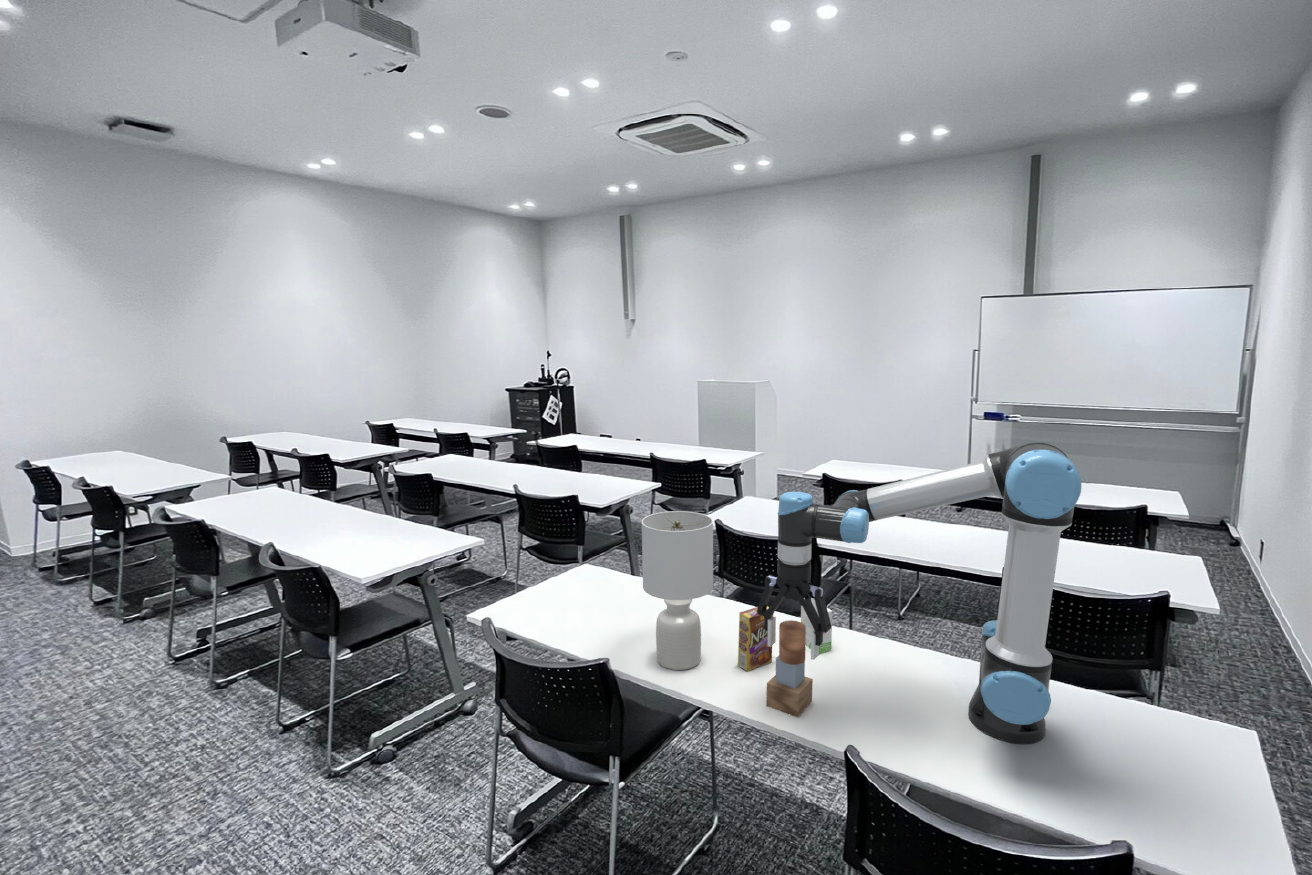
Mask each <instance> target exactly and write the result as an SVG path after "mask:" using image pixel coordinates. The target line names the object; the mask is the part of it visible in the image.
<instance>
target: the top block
mask: <svg viewBox="0 0 1312 875" xmlns="http://www.w3.org/2000/svg"><path fill="white" fill-rule="evenodd" d="M805 663H806V660H805V661H804V662H803V663H802V664H798V665H791V664H786V663H784V662H782V661H781V660H780V659H779V655H778V656H777V657H775V675H776V682H777V683H780V684H783V685H786V686H788V687H791V688H794V689H795V688H796V687H797V686H798V685H799V684H800V683H801V682H802V681H804V677H806V674H805V672H806V671H805V670H806V669H805V668H806V664H805Z"/></svg>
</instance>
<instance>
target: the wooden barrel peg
mask: <svg viewBox="0 0 1312 875" xmlns="http://www.w3.org/2000/svg"><path fill="white" fill-rule="evenodd" d="M778 625H779V627H778V630H779V633H778V637H779V638H778V645H779V646H778V653H779V654H778V656H779V659H780V660H781V661H782V662H784V663H786V664H791V665H798V664H802V663H803V662H804V661H805V662H806V646H807V645H806V626H805V625H804V624H803V623H801V621H798V620H790V619H789V620H784V621H782V622H780V623H779V624H778Z"/></svg>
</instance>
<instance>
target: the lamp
mask: <svg viewBox="0 0 1312 875" xmlns="http://www.w3.org/2000/svg"><path fill="white" fill-rule="evenodd" d="M641 548H642V551H641V552H642V553H641V554H642V555H641V557H642V589H643V591H644V592H645V593H646V594H648V595H650V596H651V597H653V598H657V599H662V600H663V601H664V603H665V605H666V608H665V609H663V610H661V611H660V612H659V614H658V616H657V618H656V623H655V642H656V643H655V645H656V646H655V647H656V659H657V662H658V663H659V664H660V665H661V666H662V667H663V668H666V669H668V670H674V671H685V670H689V669H693V668H694V667H696V666H697V665H698V664H699V663H700V662H701V655H702V653H701V652H702V627H701V626H702V625H701V619H700V615H699V613H697V612H696V610H694V609H692V608H690V606H691V604H692V602H693V600H695V599H699V598H702V597H704V596H706V595H708V594H710V593H711V592H712V591H713V588H714V520H713V518H712V517H711V516H709V515H707V514H705V513H704V514H703V513H702V512H701V513H699V512H695V511H686V510H685V511H683V510H681V511H680V510H678V511H676V510H673V511H670V510H669V511H662V512H661V511H660V512H657V513H651V514H649V515H647V516H645V517H643V518H642V520H641Z"/></svg>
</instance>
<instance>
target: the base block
mask: <svg viewBox="0 0 1312 875" xmlns="http://www.w3.org/2000/svg"><path fill="white" fill-rule="evenodd" d="M812 702H813V678H812V677H808V676H805V677H804V681H802V682H801V683H800V684H799V685H798V686H797V687H796V688H795V689H794V688H791V687H788V686H786V685H783V684H780V683H777V682H776V674H775V675H773V677H771V679H769V681H767V682H766V707H768V708H770V709H773V710H776V711H778V712H781V713H784V714H787V715H789V714H790V715H789V716H792V717H795V718H799V717H800V716H801V715H802V714H803V713H804V712H805V710H806V709H807V708H808V707H809V706H810V704H811V703H812Z"/></svg>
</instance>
